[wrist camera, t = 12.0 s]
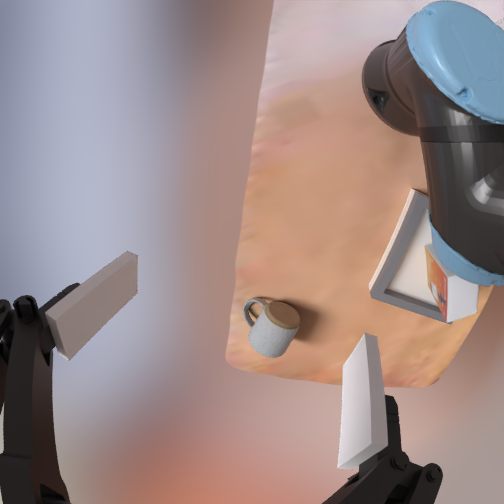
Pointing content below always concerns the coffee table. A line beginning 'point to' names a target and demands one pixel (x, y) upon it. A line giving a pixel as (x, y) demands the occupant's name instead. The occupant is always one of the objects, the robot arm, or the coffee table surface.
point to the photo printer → (500, 23)
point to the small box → (450, 289)
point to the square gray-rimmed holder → (407, 262)
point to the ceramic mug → (272, 327)
